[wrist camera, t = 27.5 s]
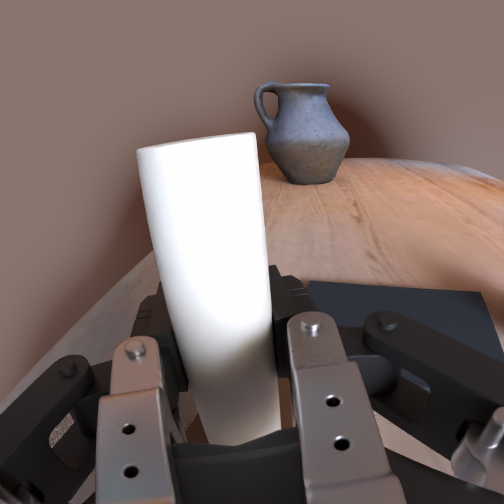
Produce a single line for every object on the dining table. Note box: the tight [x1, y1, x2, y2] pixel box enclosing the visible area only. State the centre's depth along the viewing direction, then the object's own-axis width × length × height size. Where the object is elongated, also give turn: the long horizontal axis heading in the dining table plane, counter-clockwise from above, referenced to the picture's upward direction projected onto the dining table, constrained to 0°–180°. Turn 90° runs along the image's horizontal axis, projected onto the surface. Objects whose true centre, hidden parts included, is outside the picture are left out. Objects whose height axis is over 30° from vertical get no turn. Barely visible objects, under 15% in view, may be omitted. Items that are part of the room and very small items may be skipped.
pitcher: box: [254, 81, 350, 185], centre depth 72 cm, size 21×22×25 cm
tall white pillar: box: [136, 132, 293, 446], centre depth 10 cm, size 8×5×14 cm, turn 157°
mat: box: [277, 281, 504, 392], centre depth 21 cm, size 16×12×1 cm
